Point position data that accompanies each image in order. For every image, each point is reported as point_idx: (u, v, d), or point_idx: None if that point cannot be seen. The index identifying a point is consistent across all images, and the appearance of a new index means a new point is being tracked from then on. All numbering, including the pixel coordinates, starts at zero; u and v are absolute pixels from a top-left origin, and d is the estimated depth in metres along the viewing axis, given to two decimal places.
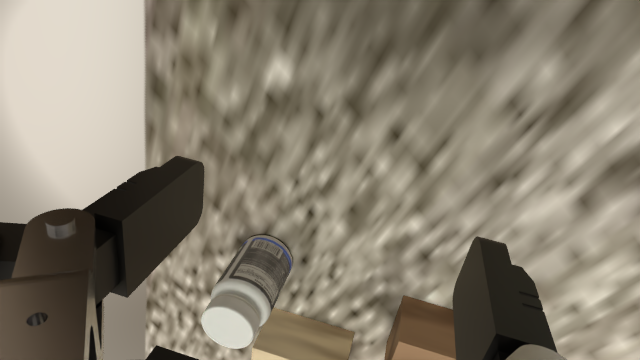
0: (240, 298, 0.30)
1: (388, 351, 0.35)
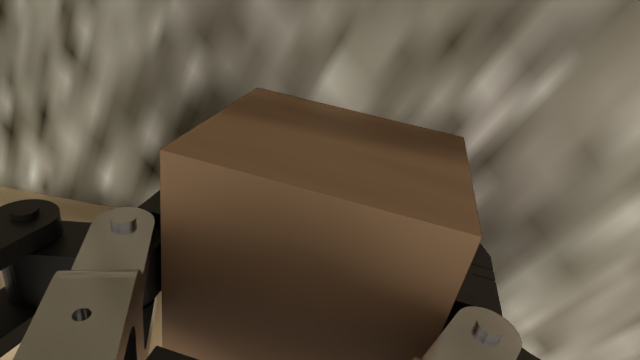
0: None
1: None
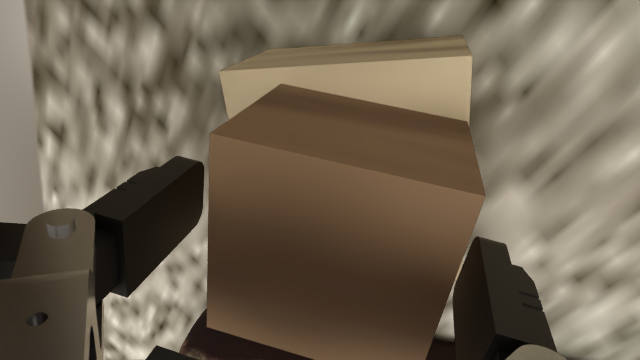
0: None
1: None
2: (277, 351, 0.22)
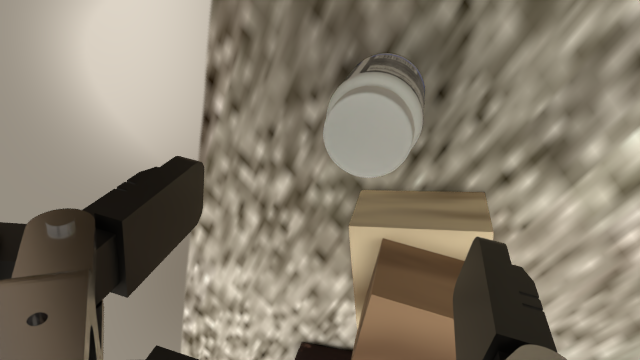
0: (388, 90, 0.19)
1: (360, 320, 0.25)
2: None
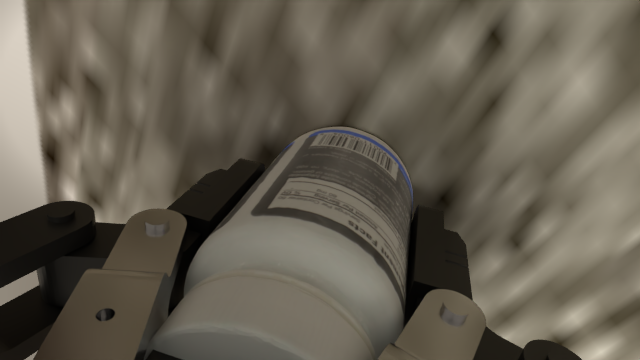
0: (305, 288, 0.07)
1: None
2: None
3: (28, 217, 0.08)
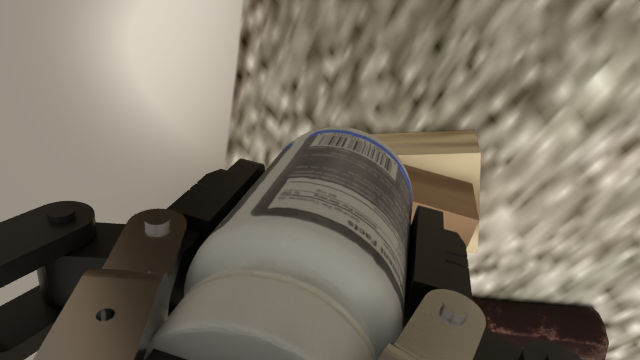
0: (305, 288, 0.07)
1: None
2: None
3: (28, 217, 0.08)
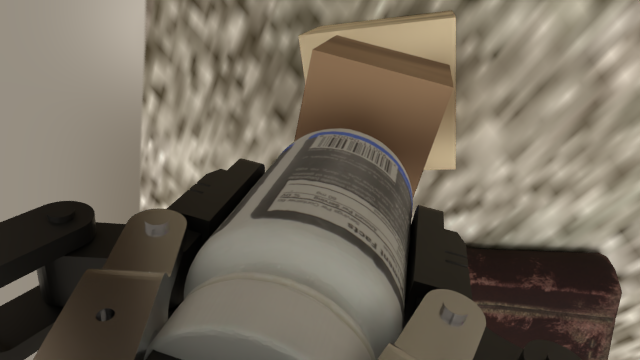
0: (305, 291, 0.07)
1: None
2: None
3: (28, 217, 0.08)
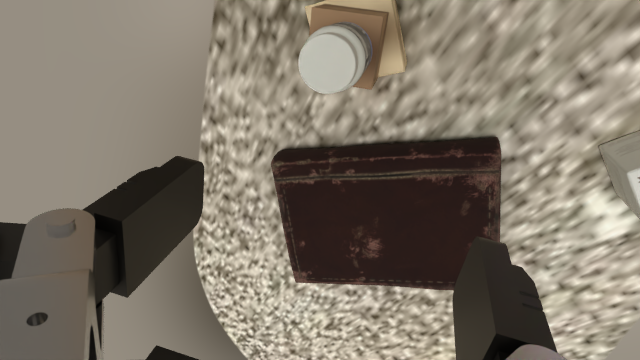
0: (339, 34, 0.28)
1: None
2: (315, 155, 0.48)
3: None
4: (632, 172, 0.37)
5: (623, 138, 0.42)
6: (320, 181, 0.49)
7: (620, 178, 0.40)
